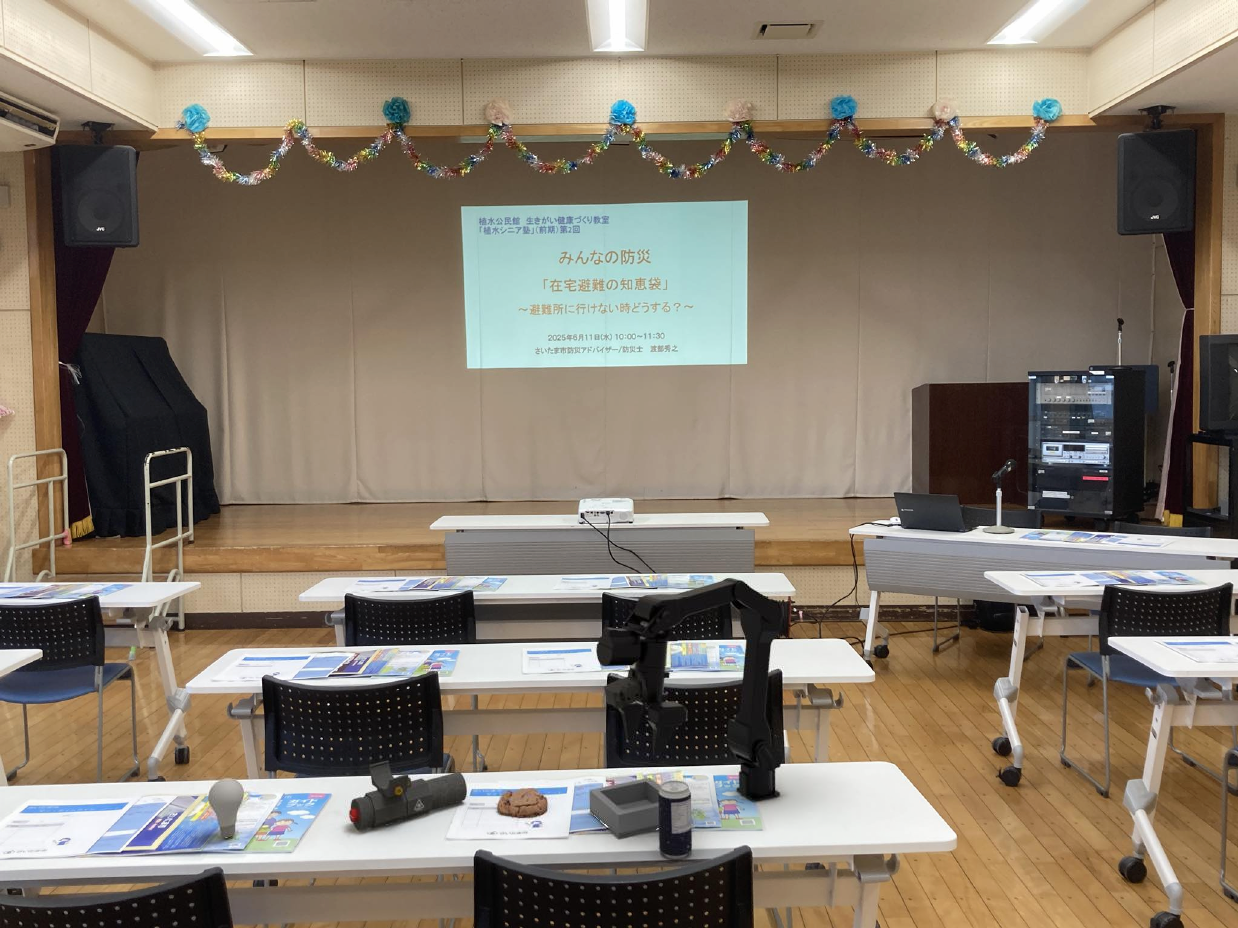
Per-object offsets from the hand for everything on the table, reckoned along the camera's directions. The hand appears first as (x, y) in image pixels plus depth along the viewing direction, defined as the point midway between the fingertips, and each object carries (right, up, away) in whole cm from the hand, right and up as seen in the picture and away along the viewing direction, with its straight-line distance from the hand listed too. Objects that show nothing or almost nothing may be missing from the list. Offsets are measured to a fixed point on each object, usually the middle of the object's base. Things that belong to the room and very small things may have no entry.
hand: (642, 748), depth 179 cm
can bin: (-1, -14, +4) cm, 15 cm away
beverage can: (+5, -15, -11) cm, 19 cm away
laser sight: (-45, -16, +8) cm, 48 cm away
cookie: (-23, -15, +10) cm, 29 cm away
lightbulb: (-77, -16, -1) cm, 78 cm away
